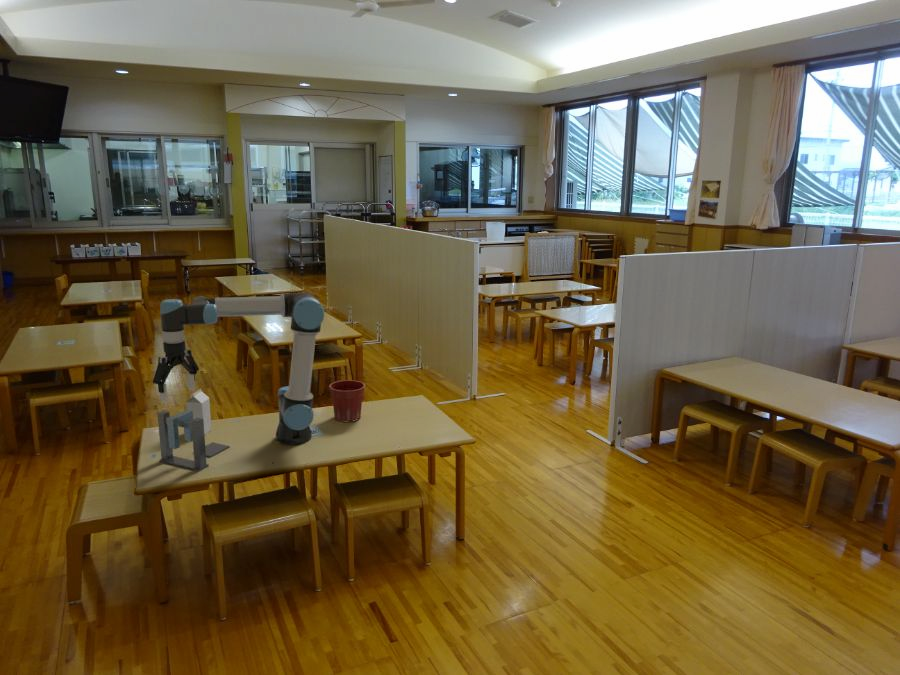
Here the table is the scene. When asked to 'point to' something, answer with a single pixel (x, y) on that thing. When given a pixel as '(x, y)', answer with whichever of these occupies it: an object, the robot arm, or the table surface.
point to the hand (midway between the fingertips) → (178, 395)
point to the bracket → (173, 428)
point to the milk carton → (200, 408)
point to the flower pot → (347, 399)
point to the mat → (214, 449)
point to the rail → (198, 443)
